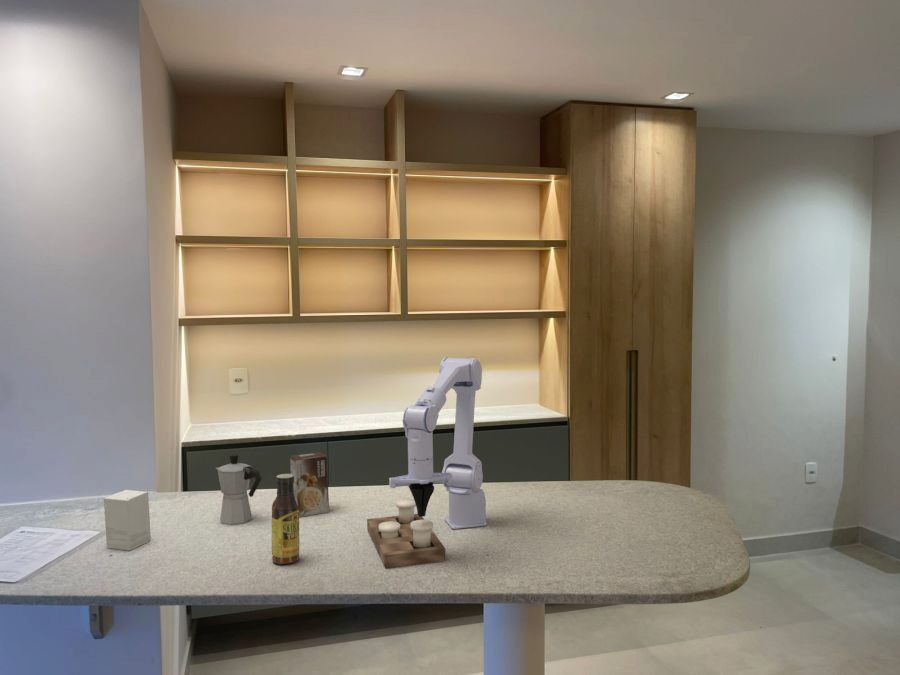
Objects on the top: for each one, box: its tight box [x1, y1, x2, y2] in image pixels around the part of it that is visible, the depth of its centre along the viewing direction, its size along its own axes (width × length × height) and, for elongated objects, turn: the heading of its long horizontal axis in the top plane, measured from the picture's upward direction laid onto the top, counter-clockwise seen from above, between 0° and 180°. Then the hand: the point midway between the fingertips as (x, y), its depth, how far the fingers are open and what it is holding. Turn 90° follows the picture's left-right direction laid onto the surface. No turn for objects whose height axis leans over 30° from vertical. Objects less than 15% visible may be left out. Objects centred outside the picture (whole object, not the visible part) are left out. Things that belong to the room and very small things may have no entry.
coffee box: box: [289, 451, 330, 518], centre depth 192 cm, size 9×6×16 cm
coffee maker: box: [215, 453, 263, 526], centre depth 186 cm, size 15×9×18 cm, turn 68°
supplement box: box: [103, 489, 152, 552], centre depth 170 cm, size 7×7×13 cm
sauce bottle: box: [271, 473, 300, 565], centre depth 158 cm, size 7×6×20 cm
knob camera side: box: [410, 519, 434, 548], centre depth 160 cm, size 5×5×5 cm
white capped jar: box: [395, 497, 416, 523], centre depth 176 cm, size 5×5×5 cm
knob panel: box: [366, 513, 446, 569], centre depth 168 cm, size 14×25×3 cm, turn 16°
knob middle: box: [379, 521, 400, 539], centre depth 167 cm, size 5×5×5 cm
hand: (421, 515), depth 159 cm, fingers closed
